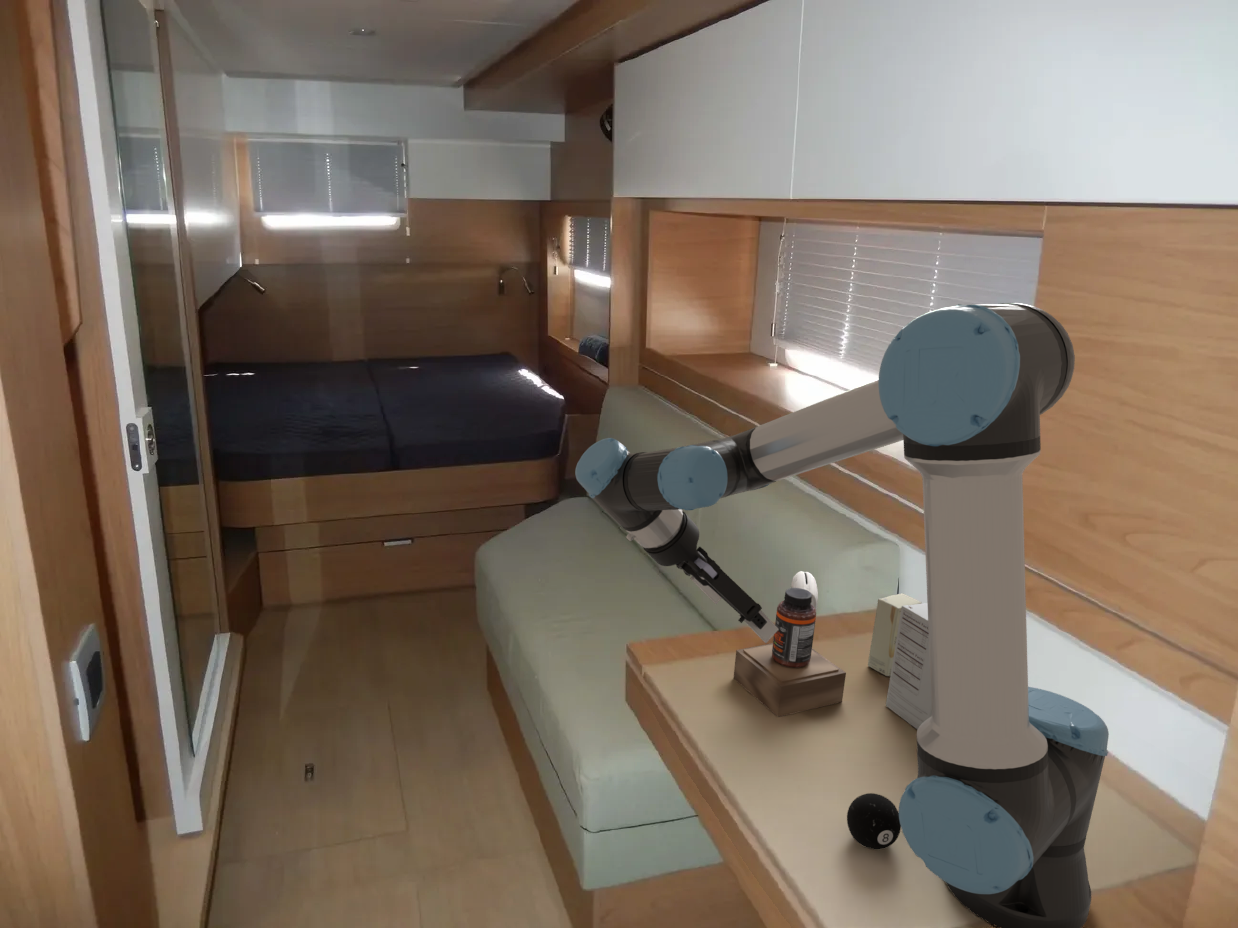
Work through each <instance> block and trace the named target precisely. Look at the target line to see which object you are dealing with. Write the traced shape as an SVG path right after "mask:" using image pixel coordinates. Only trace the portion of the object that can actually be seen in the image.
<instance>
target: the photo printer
mask: <svg viewBox="0 0 1238 928" xmlns="http://www.w3.org/2000/svg"><path fill="white" fill-rule="evenodd" d="M790 585H791V586H790V588H801V589H805V590H807V591H809V592H811V594H812V602H811V605H813V606H814V608H815V609H816V611H817V609H818V601H819V593H818V591H819V590H818V585H817V581H816V578H815V576H813V574H812V573H810V572H809V571H802V570H800V571H798V572H796V573H795V574H794V575H793V577H792V580H791V584H790Z"/></svg>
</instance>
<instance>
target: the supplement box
mask: <svg viewBox="0 0 1238 928" xmlns="http://www.w3.org/2000/svg"><path fill="white" fill-rule="evenodd" d="M889 677H890V678H889V683H888V689H887V694H886V695H887V697H886V700H885V706H886V707H887V708H888V709H889V710H891V711H892V712H893V713H895V714H896V715H898V716H899V717H901V719H903V720H904V721H905V722H907V723H908V724H909V725H910V726H912V727H913V728H914V729H916V730H918V728H919V726H920V725H921V724H922V723H923V722H925V721H926V720H927V719H928V718H930V717H931V716H932V703H931V678H930V653H929V629H928V604H927V602H922V603H921V604H914V605H904V606H902V607H901V614H900V620H899V626H898V632H897V639H896V645H895V652H894V657H893V664H892V670H891V675H890V676H889Z"/></svg>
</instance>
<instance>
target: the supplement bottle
mask: <svg viewBox="0 0 1238 928" xmlns="http://www.w3.org/2000/svg"><path fill="white" fill-rule="evenodd" d="M783 599H784V600H782V601H780V602H779V603H778V604H777V607H776V612H775V613H776V614H775V623H774V624H775V626H776V627H777V628H778V631H777V632H776V633H775V634H774V635H773V639H772V643H773V647H772V657H773V659H774V660H775V661H776V662H778V663H779V664H781V665H784V666H787V667H793V668H798V667H803V666H806V665H807V664H809V662H810V658H811V652H812V649H813V641H814V637H815V628H816V618H817V610H816V609H815V608H814V606H813V605H811V602H812V594H811V592H809V591H807V590H805V589H801V588H791V587H789V588H787V589H786V590H785V593H784V598H783Z"/></svg>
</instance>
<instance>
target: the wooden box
mask: <svg viewBox="0 0 1238 928" xmlns="http://www.w3.org/2000/svg"><path fill="white" fill-rule="evenodd" d="M772 647H773V642H771V643H768V644H767V643H765V644H762V645H755V646H752V647H745V648H739V649H736V651H735V661H734V668H733V670H734V671H733V679H734V680H735V682H736V683H738V684H739V685H741V686H742V687H743V688H744V689H745V690H746V691H747V692H749V694H751V695H752V696H753V697H754V698H755V699H756V700H757V701H759V702H760V703H761V704H762V705H764V707H766V709H768V710H769V711H770V712H772V713H773V714H774V715H775V716H776V717H783V716H788V715H791V714H796V713H800V712H805V711H810V710H813V709H817V708H822V707H826V706H831V705H834V703H835V704H839V703H838V702H840V703H842V702H843V699H844V698H843V696H844V691H845V689H844V688H845V682H846V674H847V672H846V671H844V670H843V669H842V668H841V667H839V666H838V665H836V664H835V663H833V662H832V661H831V660H829V659H827V658H826V657H825V656H824V655H822V654H820V653H819V652H817V651H816V650H815V649H814V648H812V652H811V658H810V662H809V664H807V665H806V666H803V667H798V668H793V667H787V666H784V665H781V664H779V663H778V662H776V661H775V660H774V659H773V657H772ZM830 704H831V705H830Z"/></svg>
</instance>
